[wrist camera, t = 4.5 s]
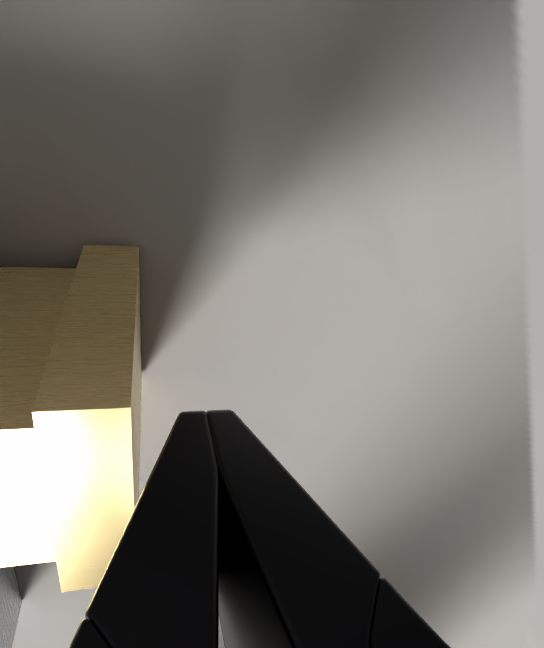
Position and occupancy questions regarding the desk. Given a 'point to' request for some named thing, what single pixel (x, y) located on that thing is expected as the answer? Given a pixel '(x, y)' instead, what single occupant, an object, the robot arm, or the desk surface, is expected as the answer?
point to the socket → (8, 606)
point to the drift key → (70, 412)
